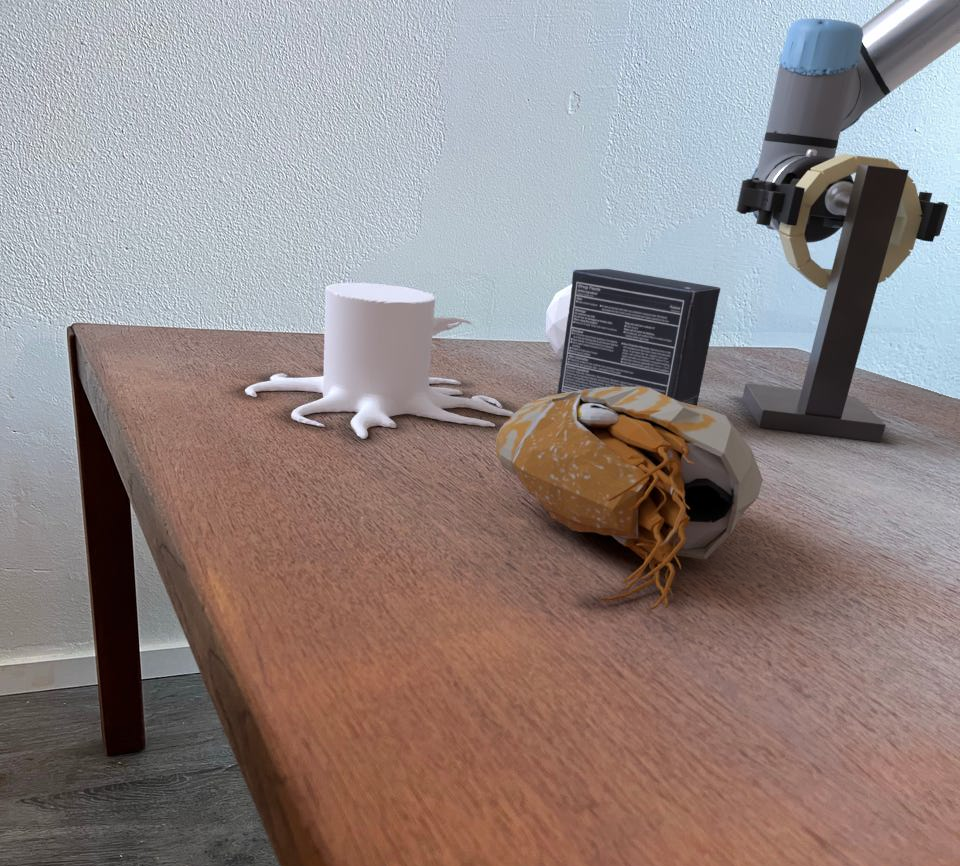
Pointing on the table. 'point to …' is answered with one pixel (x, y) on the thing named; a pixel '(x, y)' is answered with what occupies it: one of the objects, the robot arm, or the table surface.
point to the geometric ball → (558, 319)
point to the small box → (637, 333)
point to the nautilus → (634, 471)
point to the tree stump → (380, 360)
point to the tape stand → (840, 317)
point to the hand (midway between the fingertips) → (864, 214)
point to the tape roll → (814, 187)
